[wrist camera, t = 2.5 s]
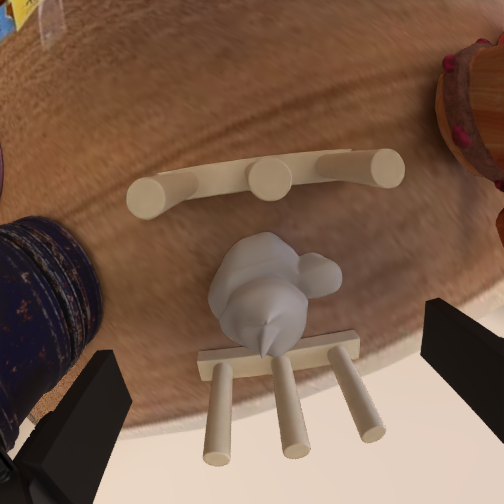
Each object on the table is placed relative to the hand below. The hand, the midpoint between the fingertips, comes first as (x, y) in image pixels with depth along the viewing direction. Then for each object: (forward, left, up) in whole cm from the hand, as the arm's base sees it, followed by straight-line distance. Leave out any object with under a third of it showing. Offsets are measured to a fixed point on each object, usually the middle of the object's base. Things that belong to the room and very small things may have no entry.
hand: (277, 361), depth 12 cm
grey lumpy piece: (-1, 0, -7) cm, 7 cm away
